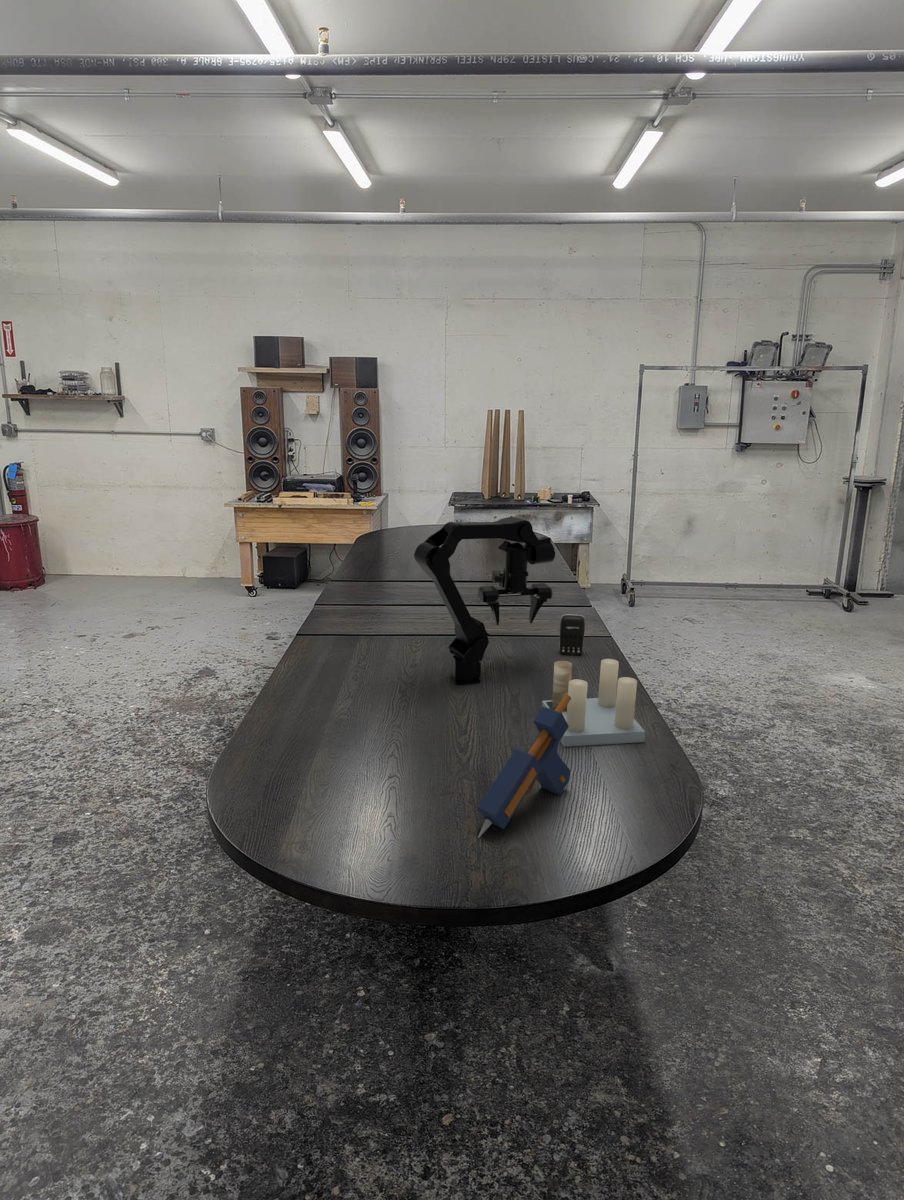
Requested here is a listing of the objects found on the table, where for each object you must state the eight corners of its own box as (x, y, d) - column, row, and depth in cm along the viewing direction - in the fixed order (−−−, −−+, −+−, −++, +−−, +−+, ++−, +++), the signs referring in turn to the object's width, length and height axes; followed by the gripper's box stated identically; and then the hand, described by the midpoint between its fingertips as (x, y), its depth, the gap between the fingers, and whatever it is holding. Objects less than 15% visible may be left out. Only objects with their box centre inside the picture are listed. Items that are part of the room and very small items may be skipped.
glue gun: (496, 865, 134) (464, 828, 125) (567, 727, 148) (544, 683, 139) (524, 877, 131) (494, 840, 121) (594, 734, 145) (572, 690, 135)
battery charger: (558, 655, 208) (560, 617, 205) (558, 651, 212) (560, 613, 209) (583, 657, 208) (586, 618, 204) (582, 652, 211) (585, 614, 208)
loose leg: (555, 720, 169) (558, 667, 165) (548, 713, 172) (551, 661, 169) (571, 719, 170) (574, 666, 166) (565, 711, 173) (568, 660, 170)
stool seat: (563, 746, 157) (567, 690, 153) (541, 710, 174) (544, 658, 170) (644, 741, 159) (649, 686, 155) (614, 706, 176) (619, 655, 172)
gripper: (539, 557, 199) (537, 612, 204) (473, 560, 195) (472, 616, 200) (554, 567, 189) (551, 625, 193) (484, 571, 185) (483, 629, 189)
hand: (514, 623), depth 194 cm, fingers open, 9 cm apart
